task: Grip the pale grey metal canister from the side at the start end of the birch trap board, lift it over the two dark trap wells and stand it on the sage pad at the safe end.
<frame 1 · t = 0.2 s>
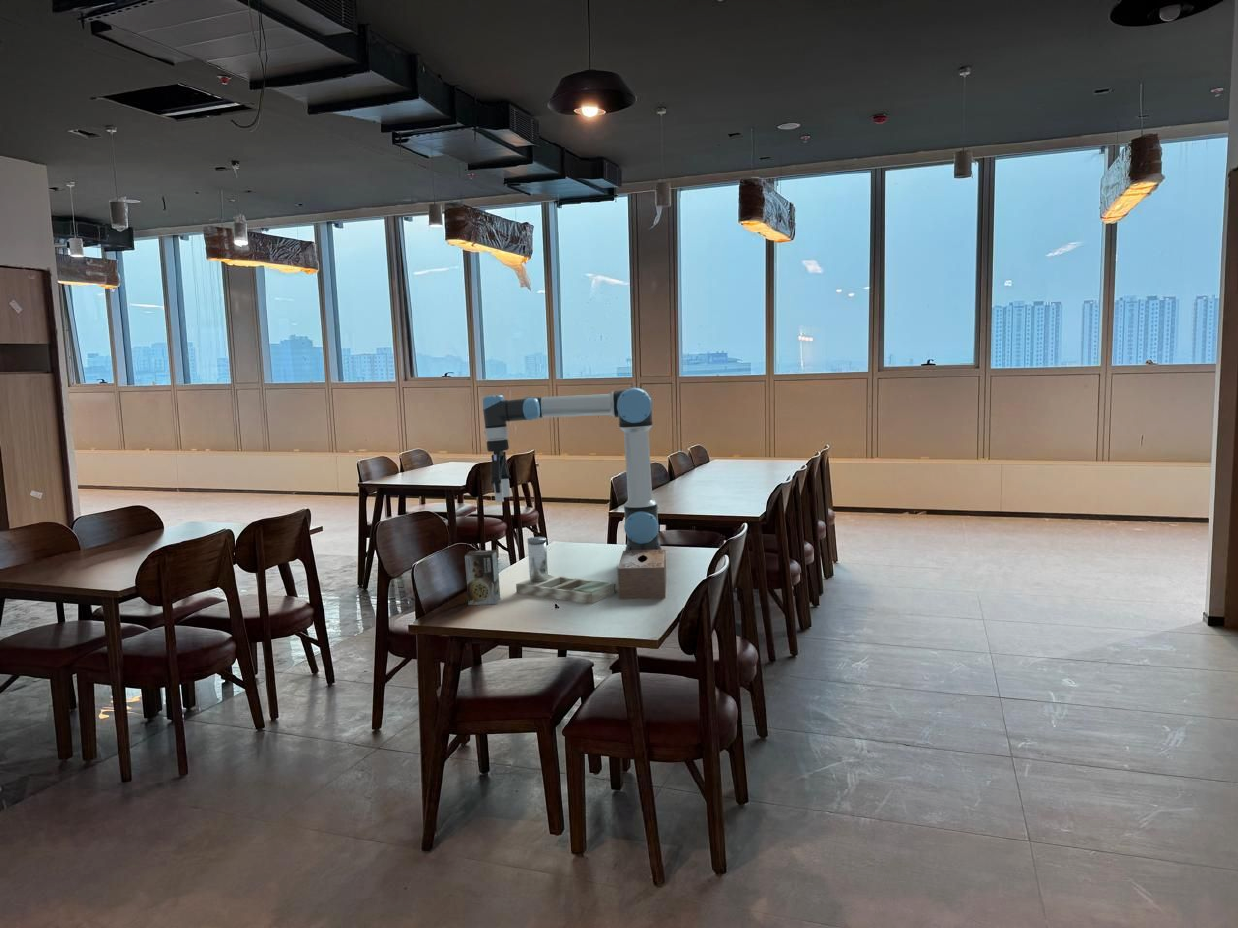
hand: (503, 499, 290), 27 cm above the table, tool pointing down, fingers open, 13 cm apart
coffee box: (484, 602, 259), on the table
canister: (539, 580, 272), point 3 cm above the table, touching trap board
tissue box cover: (643, 589, 268), on the table
trap board: (565, 592, 266), on the table
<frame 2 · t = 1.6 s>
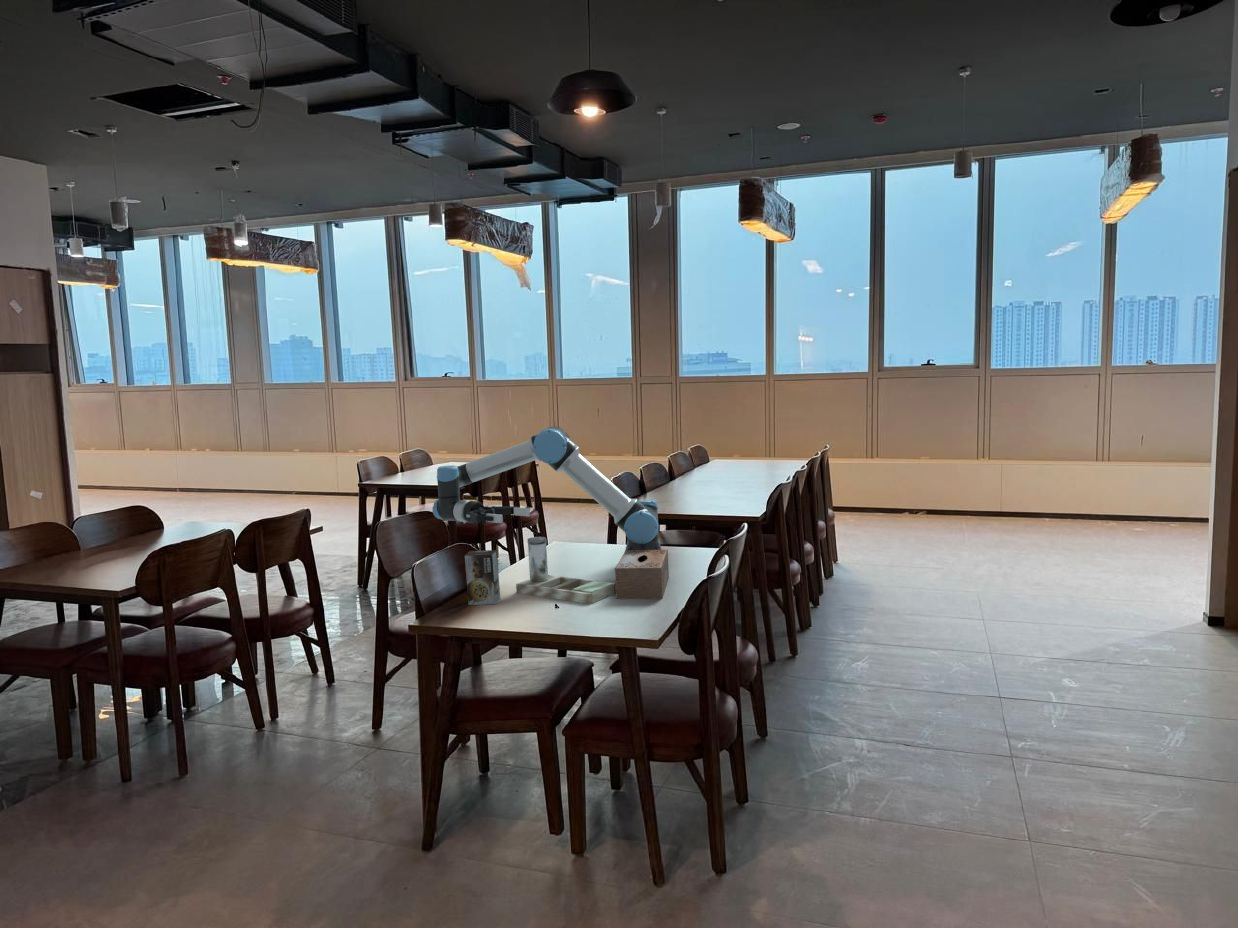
hand: (515, 515, 275), 24 cm above the table, tool horizontal, fingers open, 13 cm apart
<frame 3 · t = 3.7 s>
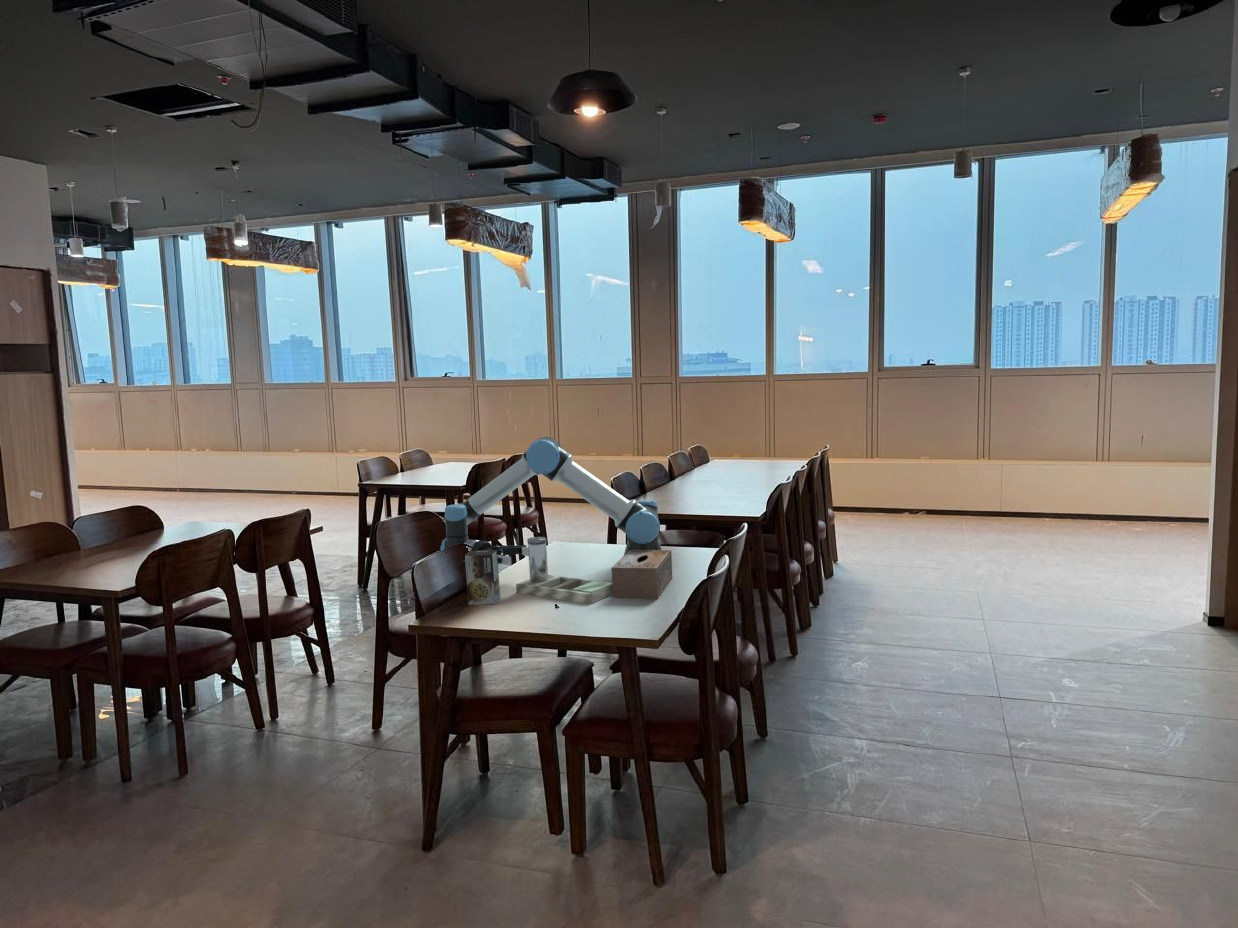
hand: (524, 556, 274), 11 cm above the table, tool horizontal, fingers open, 13 cm apart
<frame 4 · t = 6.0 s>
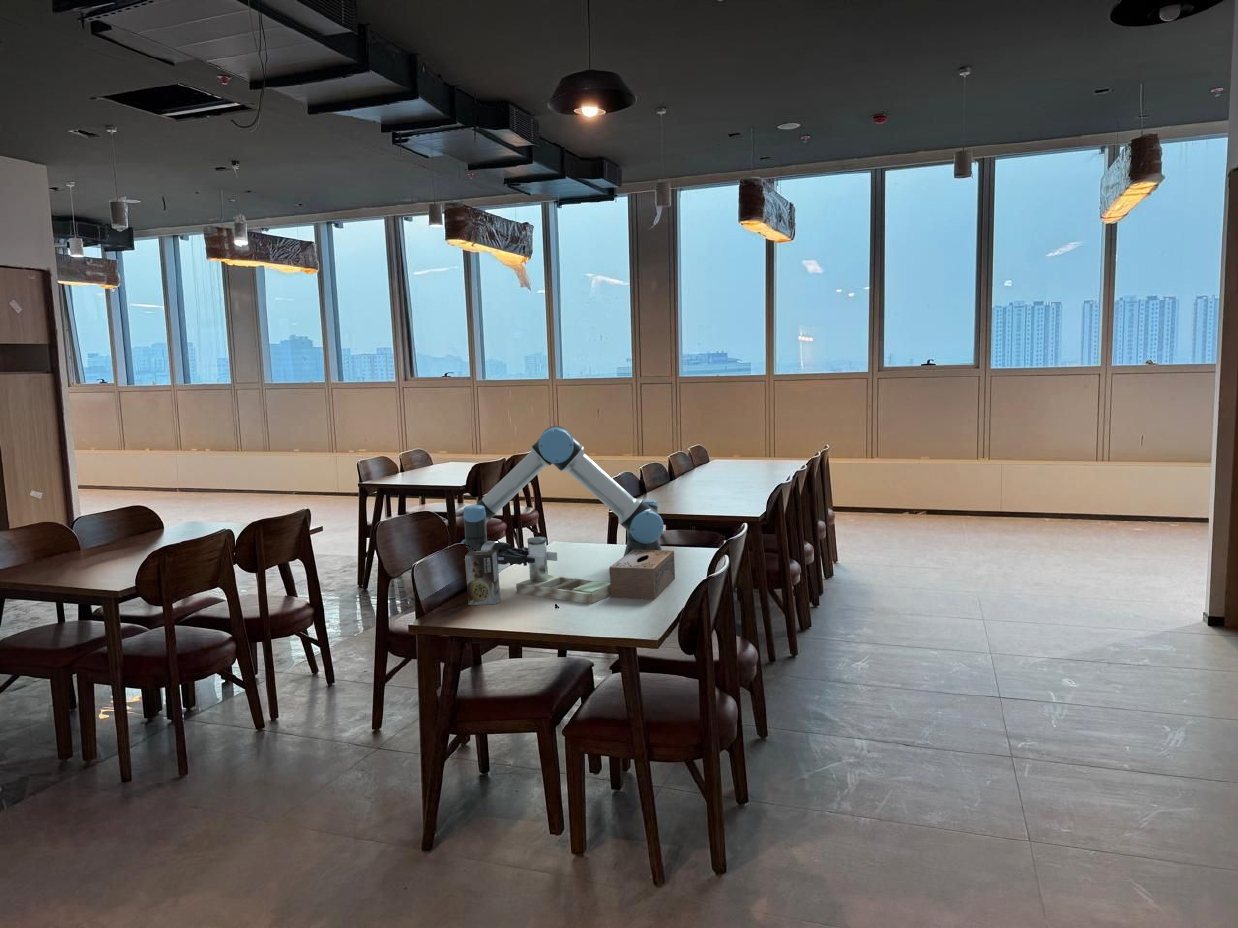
hand: (549, 558, 268), 11 cm above the table, tool horizontal, fingers closed on canister, 6 cm apart
canister: (539, 580, 272), point 3 cm above the table, touching gripper, trap board
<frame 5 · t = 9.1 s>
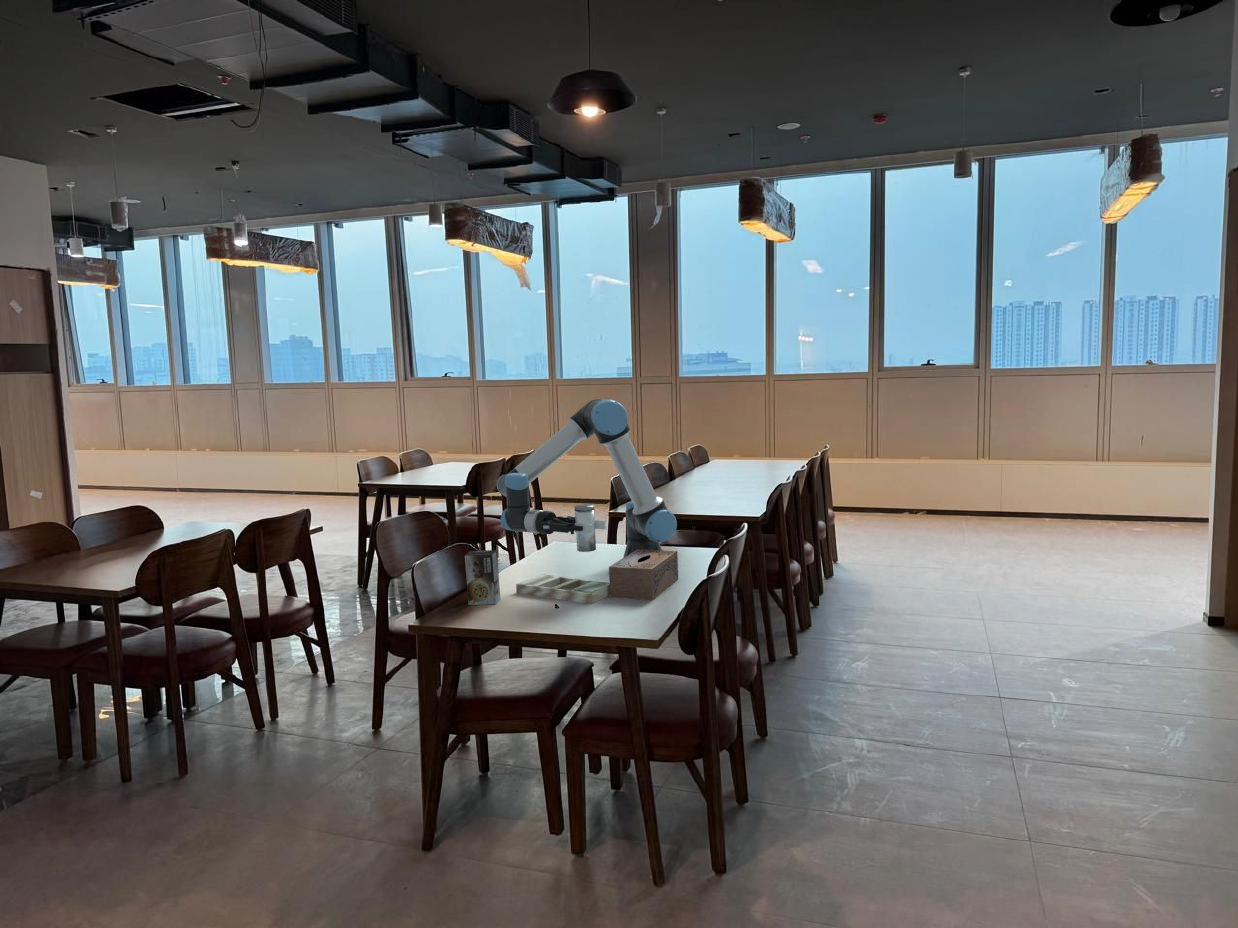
hand: (598, 526, 255), 23 cm above the table, tool horizontal, fingers closed on canister, 6 cm apart
canister: (586, 549, 259), point 15 cm above the table, touching gripper
when the fingers open (13 cm above the table, at t = 12.1 s): canister drops 2 cm, resting on trap board.
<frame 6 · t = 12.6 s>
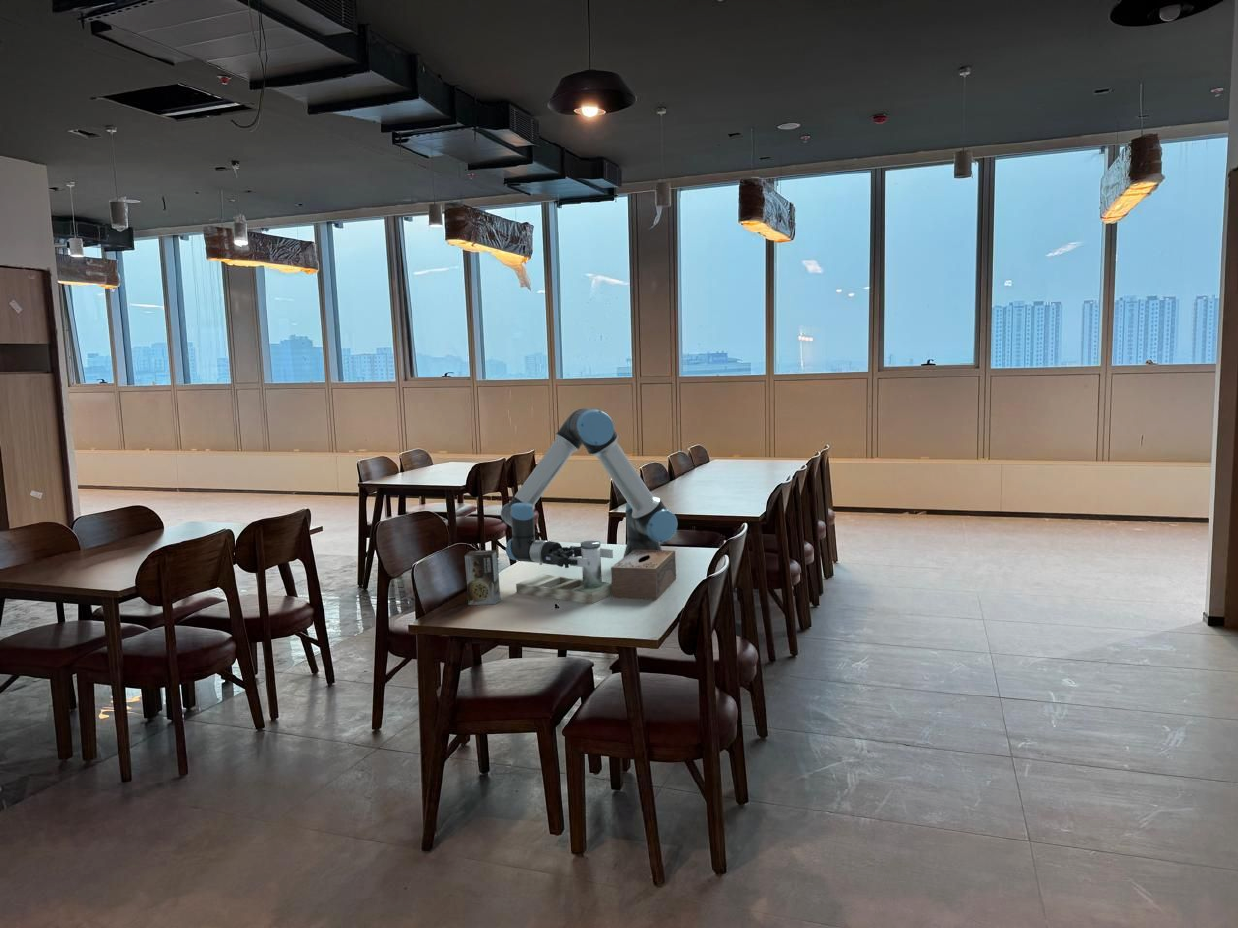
hand: (599, 558, 257), 13 cm above the table, tool horizontal, fingers open, 13 cm apart
canister: (592, 586, 260), point 3 cm above the table, touching trap board
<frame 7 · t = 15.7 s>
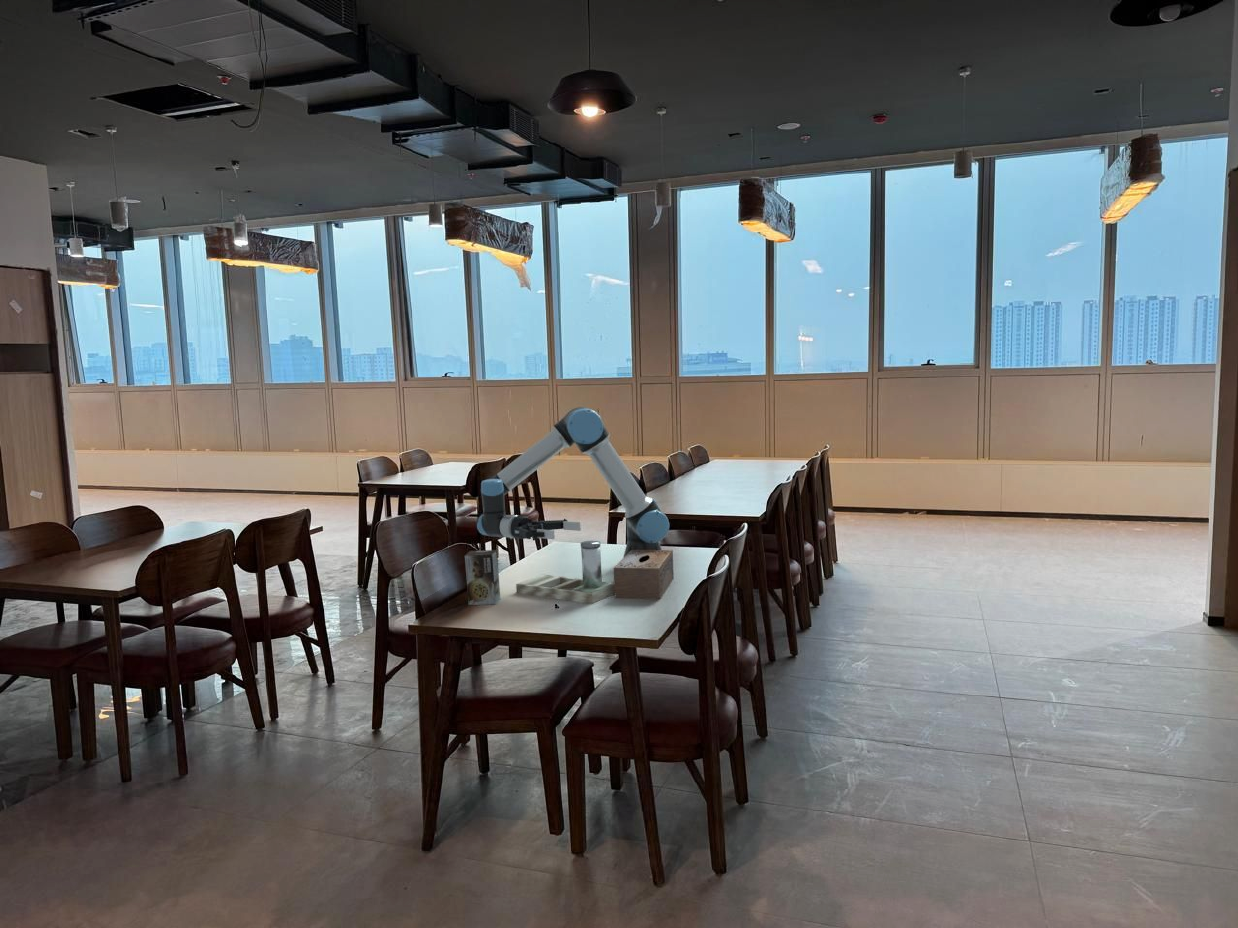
hand: (567, 530, 262), 21 cm above the table, tool horizontal, fingers open, 13 cm apart
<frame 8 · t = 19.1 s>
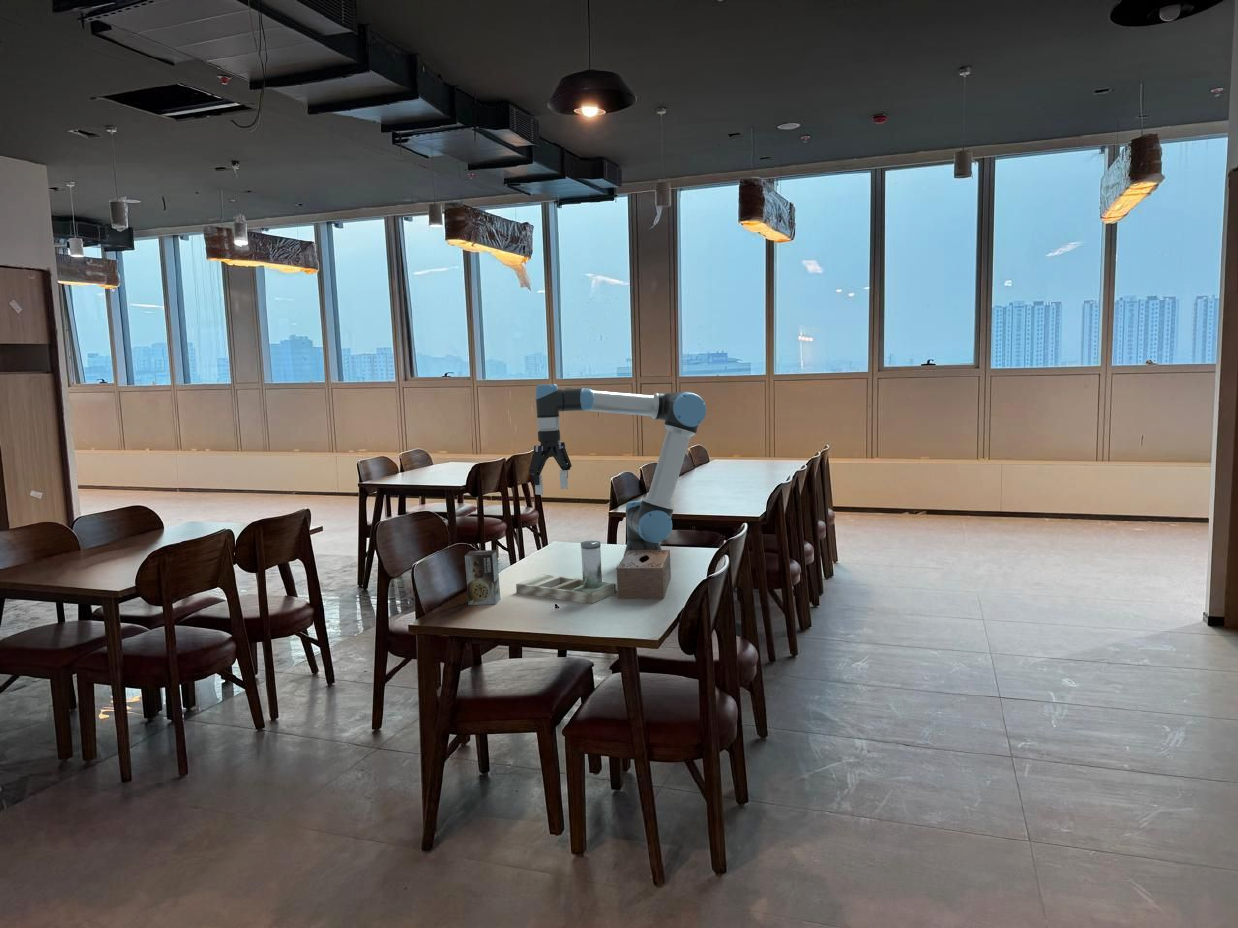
hand: (552, 491, 281), 31 cm above the table, tool pointing down, fingers open, 13 cm apart
at the end: canister 0.1 cm from the target spot on the trap board, point 3.4 cm above the trap board's base; canister tilted 0°; the gripper is holding nothing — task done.
